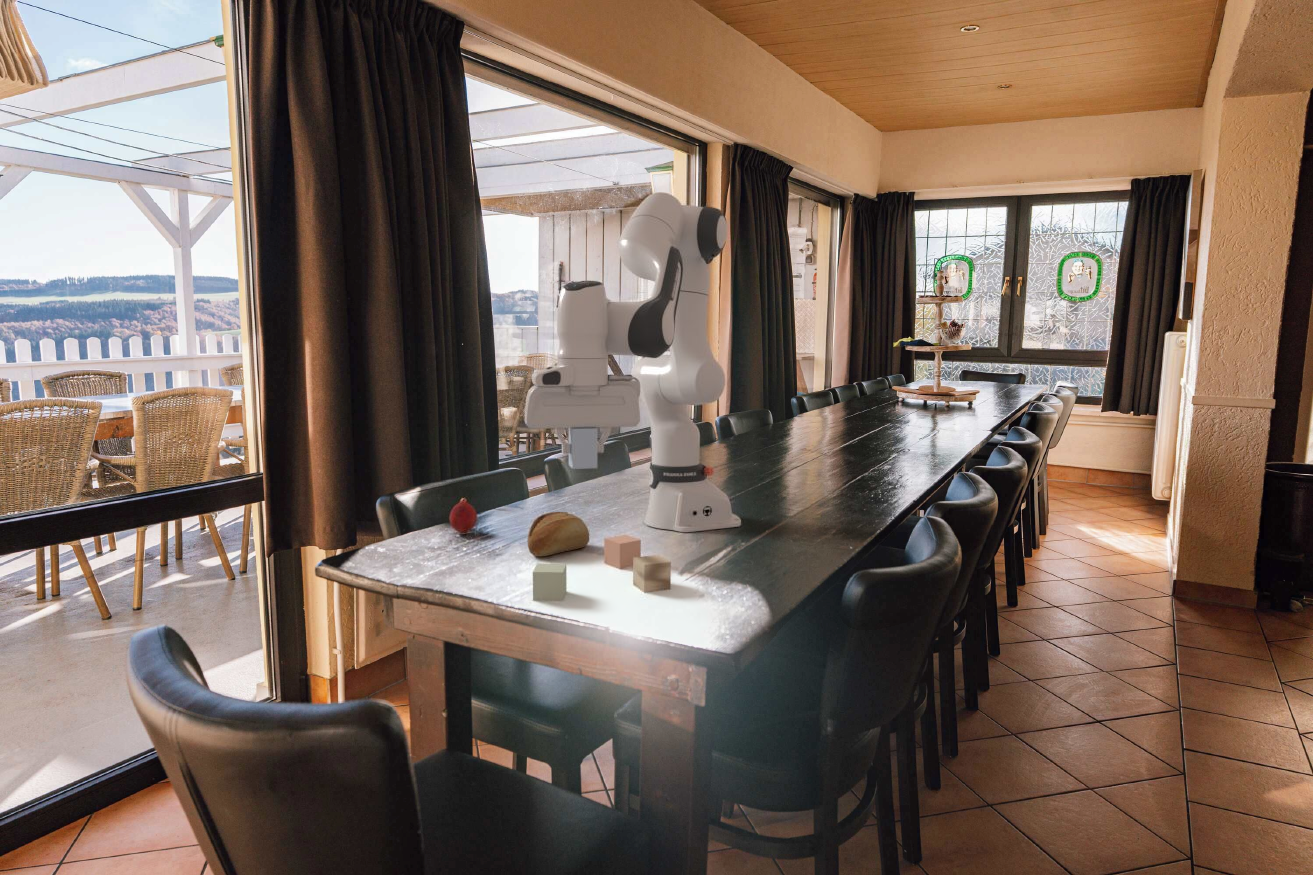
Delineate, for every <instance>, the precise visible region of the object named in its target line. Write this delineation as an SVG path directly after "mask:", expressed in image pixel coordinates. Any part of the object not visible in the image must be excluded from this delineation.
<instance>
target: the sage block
mask: <svg viewBox="0 0 1313 875" xmlns="http://www.w3.org/2000/svg"><path fill="white" fill-rule="evenodd" d="M567 588H568V587H567V563H536V565H535V567H534V569H533V571H532V601H534V602H536V601H537V602H538V601H540V602H564V600H565V596H566V595H567Z"/></svg>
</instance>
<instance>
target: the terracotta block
mask: <svg viewBox="0 0 1313 875" xmlns="http://www.w3.org/2000/svg"><path fill="white" fill-rule="evenodd" d="M603 542H604V543H603V544H604V546H603V548H604V549H603V550H604V552H603V553H604V554H603V559H604V560H603V562H604V564H605V565H607V566H609V567H613V568H615V569H618V570H623V569H628V568H631V567H632V568H633V558H634V557H642V556H641V554H642V553H641V552H642V551H641V549H642V545H641V544H642V540H641V539H639V538H636V537H635V536H630V535H627V534H621V535H617V536H616V535H615V536H611V537H610V536H609V537H605V538H604V540H603Z"/></svg>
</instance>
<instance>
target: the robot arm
mask: <svg viewBox="0 0 1313 875" xmlns="http://www.w3.org/2000/svg"><path fill="white" fill-rule="evenodd" d="M728 229H729V228H728V223H727V219H726V215H725V213H723V211H722V210H721V209H719V208H717V207H713V206H708V205H704V206H697V205H689V204H682V203H681V201H680V200H679V199H678V198H676V196H674V195H673V194H670V193H668V192H655V193H654V192H653V193H651V194H649V195H648V196H647V197H645V199H644V200H643V201H642V202H640V204H639V205H638V206H637V208H636V209H635V210H634V211H633V213H632V214H631V216H630V217H629V219H628V221H627V223H626V224H625V226H624V228H623V230H622V233H621V234H620V237H619V241H618V255H619V258H620V259H621V262H622V263H623V264H624V266H625V268H626V269H627V270H628V271H630V272H631V273H632V274H633V275H635V276H636V277H638V278H640V279H643V280H646V281H647V280H648V281H652V282H654V285H653V290H652V295H651V297H650V298H647V299H644V300H641V301H612V300H611V299H609V298H608V297H607V294H606V287H605V285H604V283H603V282H601V281H597V280H581V281H572V282H569V283H566V284H564V285H562V287H561V288H560V293H559V296H558V304H557V315H556V317H557V318H556V319H557V320H556V333H557V337H558V343H559V347H558V351H557V354H556V355H557V356H556V357H557V358H556V359H557V362H556V365H553V366H548V367H545V368H544V369H540V370H537V371H534V372H532V374H531V382H532V384H533V385H532V386H531V387H530V388H529V390H528V392H527V394H526V398H525V399H526V400H525V406H524V423H525V426H526V427H528V428H529V429H530V430H531V429H532V430H533V429H535V430H538V429H555V430H554V434H555V435H556V437H557V438H558V440H559V442H560V444H561V453H562V454H564V455H567V454H568V455H569V454H571V443H569V442H567V441H566V440H565V439H564V437H563V435H565V432H566V431H565V430H566V429H569V428H594V427H596V428H600V430H599V431H600V433H602V434H601V436H600V438H599V440H598V441H597V454H598V453H599V454H603V453H605V452H604V451H605V443H606V442H607V440H608V438H609V436H610V435H611V428H625V427H626V428H630V427H631V428H633V427H637V426H638V424H639V423H640V421H641V413H640V403H639V398H640V400H641V401H642V404H643V406H644V408H645V411H646V415H647V417H648V422H649V425H650V431H651V432H650V434H651V435H650V436H651V462H650V463H649V470H648V483H649V487H650V491H649V497H648V498H649V500H648V504H647V505H648V506H647V509H646V510H647V511H646V515H645V518H644V521H643V523H644V524H645V525H646V526H649V527H651V528H655V529H660V530H661V529H662V530H670V531H675V532H680V533H690V532H691V533H693V532H699V531H711V530H717V529H718V530H719V529H729V528H735V527H736V528H737V527H741V525H742V520H741V518H740V517H739V516H738V515H737V514H734V513H733V511H732V505H731V501H730V498H729V496H728V495H727V494H726V493H725V492H723V491H722V490H721V489H720V488H718V486H716V485H715V484H714V483H712V482H711V481H710V480H709V479H707V477H711V476H713V474H714V472H715V470H714V468H713V467H711V466H709V465H708V466H707V465H704V464H703V463H701V462H700V453H701V452H700V448H701V446H700V445H701V434H700V430H699V427H698V426H697V424H695V422H694V421H692V419H691V417H690V416H689V413H688V411H687V407H686V405H687V406H702V405H706V404H712V403H714V402H716V401H717V400H719V398H720V397H721V396H722V395H723V393H724V390H725V386H726V375H725V371H724V369H723V367H722V365H720V363H719V362H718V361H717V360H716V358H715V357H714V355H713V352H712V350H711V346H710V344H709V337H708V330H707V329H708V327H707V326H708V312H709V311H708V309H709V297H710V264H711V263H712V262H713V260H714V259H715V258H716V257H718V256H719V255H720V253H721V252H723V250H724V248H725V247H726V246H725V245H726V243H727V239H728V234H729V233H728ZM668 350H669V354H664V353H666V352H667V351H668ZM608 355H612V356H632V357H633V356H636V357H641V358H640V359H638V360H637V361H636V362H635V363H634V365H633V367H632V369H631V372H630V374H609V356H608Z"/></svg>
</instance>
